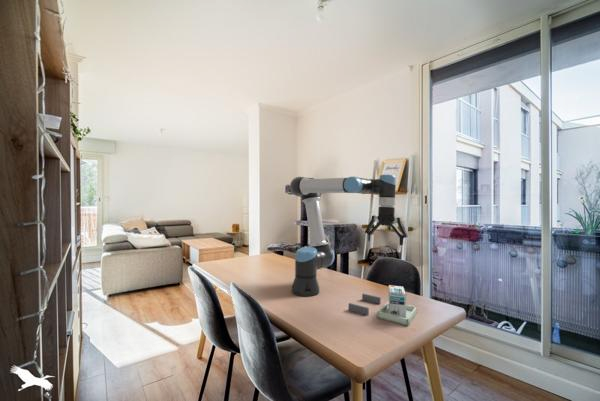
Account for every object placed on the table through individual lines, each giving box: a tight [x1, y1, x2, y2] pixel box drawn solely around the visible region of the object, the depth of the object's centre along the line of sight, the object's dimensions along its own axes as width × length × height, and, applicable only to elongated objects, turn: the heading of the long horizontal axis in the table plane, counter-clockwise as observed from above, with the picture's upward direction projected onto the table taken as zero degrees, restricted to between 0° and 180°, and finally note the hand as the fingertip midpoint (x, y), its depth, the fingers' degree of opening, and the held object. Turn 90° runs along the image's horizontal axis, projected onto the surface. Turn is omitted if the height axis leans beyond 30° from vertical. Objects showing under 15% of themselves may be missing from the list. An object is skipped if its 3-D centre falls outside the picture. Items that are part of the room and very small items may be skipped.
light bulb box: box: [388, 284, 407, 318], centre depth 118 cm, size 11×7×11 cm, turn 165°
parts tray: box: [376, 300, 418, 327], centre depth 118 cm, size 13×17×2 cm
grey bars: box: [348, 293, 382, 316], centre depth 127 cm, size 9×17×3 cm, turn 145°
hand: (384, 249), depth 131 cm, fingers open, 13 cm apart
